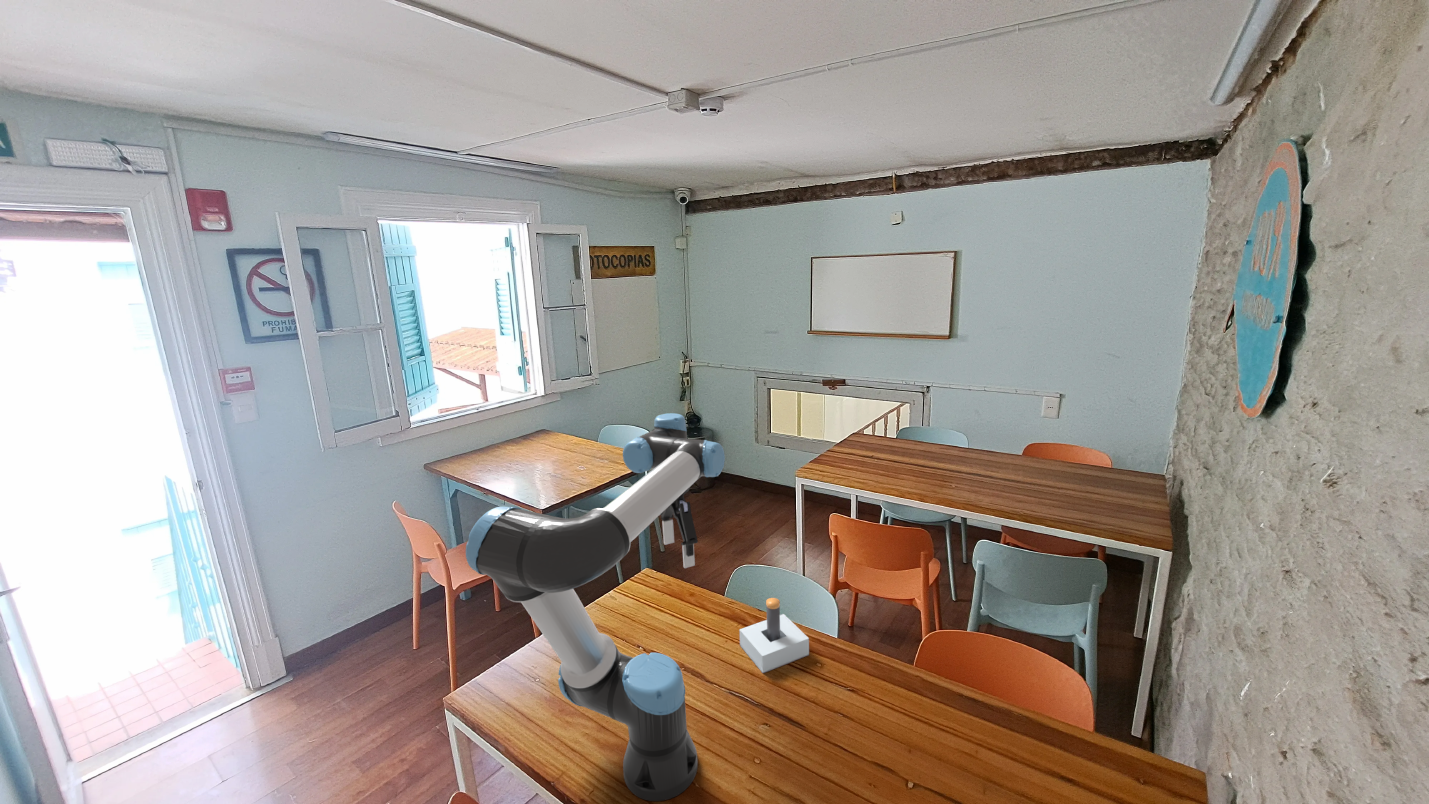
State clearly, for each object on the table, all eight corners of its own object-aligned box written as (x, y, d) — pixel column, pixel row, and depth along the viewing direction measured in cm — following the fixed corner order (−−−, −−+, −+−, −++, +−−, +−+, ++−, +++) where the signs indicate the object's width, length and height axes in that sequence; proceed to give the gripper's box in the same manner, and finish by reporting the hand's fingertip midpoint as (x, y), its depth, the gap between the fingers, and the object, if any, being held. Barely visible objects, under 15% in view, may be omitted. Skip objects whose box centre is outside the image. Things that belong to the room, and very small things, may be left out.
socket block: (808, 654, 143) (808, 638, 142) (762, 673, 137) (762, 656, 136) (783, 629, 153) (783, 613, 152) (740, 645, 148) (739, 629, 146)
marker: (783, 650, 144) (782, 603, 141) (771, 654, 143) (770, 607, 140) (776, 642, 147) (775, 596, 144) (764, 646, 146) (763, 600, 143)
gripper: (708, 489, 125) (713, 572, 130) (669, 459, 147) (674, 531, 152) (678, 496, 122) (683, 581, 127) (642, 464, 144) (648, 537, 149)
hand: (678, 554), depth 140 cm, fingers open, 13 cm apart
